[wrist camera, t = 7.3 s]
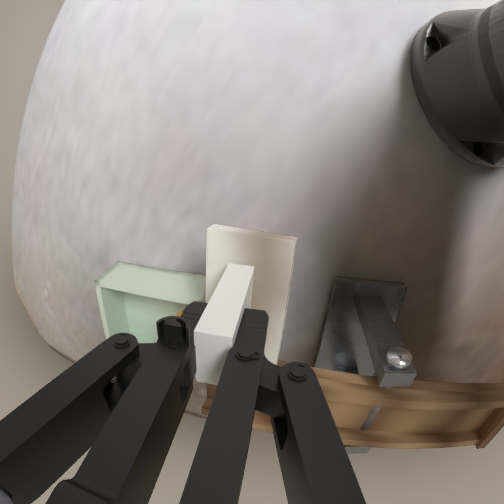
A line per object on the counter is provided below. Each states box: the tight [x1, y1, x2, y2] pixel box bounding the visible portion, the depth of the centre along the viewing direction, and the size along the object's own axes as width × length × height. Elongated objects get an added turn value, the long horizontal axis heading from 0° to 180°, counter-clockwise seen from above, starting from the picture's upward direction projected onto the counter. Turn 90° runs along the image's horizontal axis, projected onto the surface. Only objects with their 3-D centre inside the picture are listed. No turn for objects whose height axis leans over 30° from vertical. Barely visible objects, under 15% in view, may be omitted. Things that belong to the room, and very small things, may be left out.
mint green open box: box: [94, 262, 206, 378], centre depth 27 cm, size 11×9×4 cm
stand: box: [313, 276, 417, 454], centre depth 22 cm, size 7×12×11 cm, turn 176°
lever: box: [202, 224, 504, 449], centre depth 16 cm, size 26×15×3 cm, turn 86°
